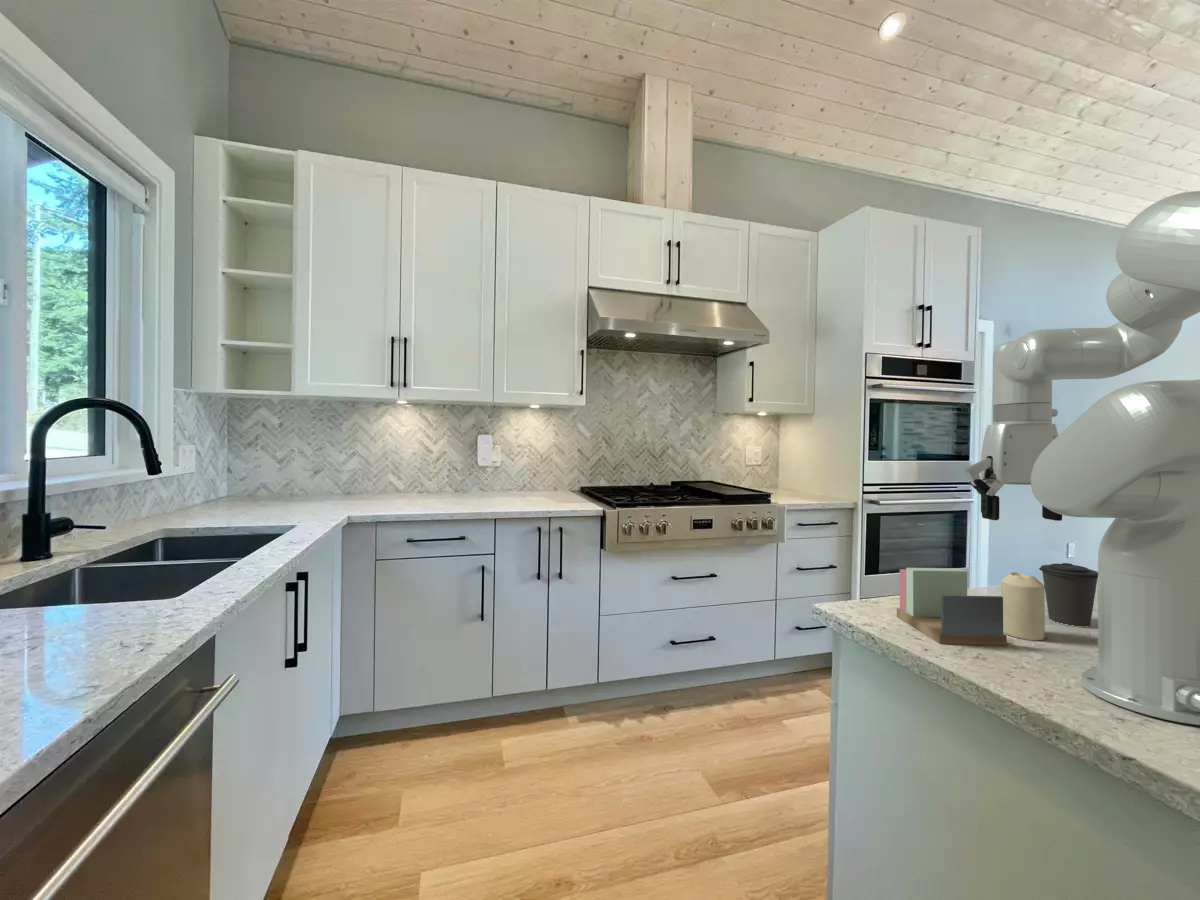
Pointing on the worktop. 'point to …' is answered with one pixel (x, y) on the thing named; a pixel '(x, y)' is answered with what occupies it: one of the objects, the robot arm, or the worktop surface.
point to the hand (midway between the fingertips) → (1021, 519)
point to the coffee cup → (1069, 593)
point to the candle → (1023, 606)
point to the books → (929, 589)
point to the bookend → (972, 615)
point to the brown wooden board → (933, 630)
